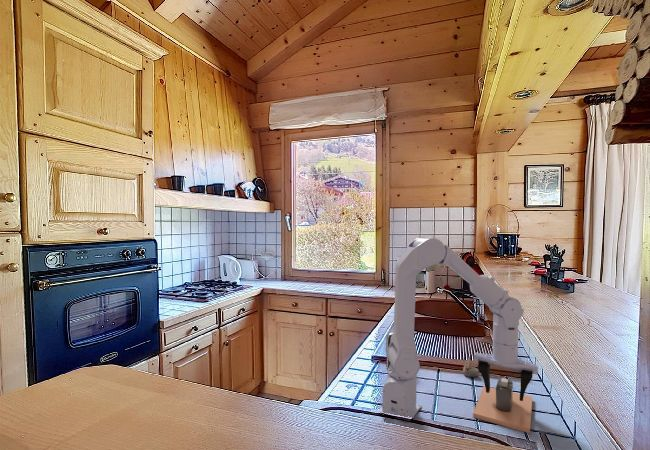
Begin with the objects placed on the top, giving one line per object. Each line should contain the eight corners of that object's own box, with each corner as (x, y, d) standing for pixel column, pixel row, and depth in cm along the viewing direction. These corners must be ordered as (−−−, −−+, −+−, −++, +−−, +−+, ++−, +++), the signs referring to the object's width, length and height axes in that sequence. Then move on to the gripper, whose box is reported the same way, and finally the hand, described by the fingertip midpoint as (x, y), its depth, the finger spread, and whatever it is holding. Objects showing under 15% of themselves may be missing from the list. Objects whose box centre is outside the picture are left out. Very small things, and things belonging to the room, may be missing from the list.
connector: (510, 413, 86) (510, 388, 86) (494, 409, 88) (495, 384, 88) (512, 399, 93) (513, 376, 93) (498, 396, 95) (499, 373, 95)
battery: (392, 372, 112) (393, 336, 112) (385, 368, 115) (385, 333, 115) (409, 368, 115) (410, 333, 115) (401, 364, 118) (402, 330, 118)
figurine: (482, 376, 109) (479, 356, 110) (472, 379, 107) (469, 359, 108) (468, 372, 114) (466, 353, 115) (459, 375, 112) (456, 356, 113)
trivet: (529, 433, 80) (529, 428, 80) (473, 417, 86) (473, 413, 86) (532, 400, 95) (532, 396, 95) (483, 389, 101) (484, 385, 101)
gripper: (538, 343, 90) (537, 396, 90) (477, 333, 98) (476, 382, 98) (537, 351, 84) (537, 408, 84) (472, 340, 92) (472, 392, 92)
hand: (504, 395), depth 90 cm, fingers open, 7 cm apart
